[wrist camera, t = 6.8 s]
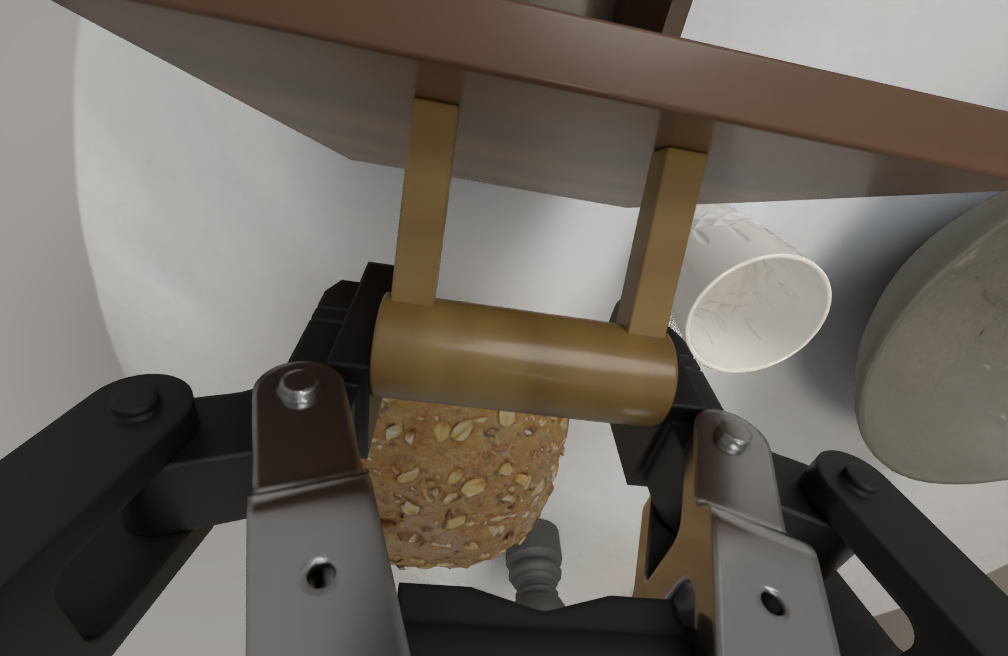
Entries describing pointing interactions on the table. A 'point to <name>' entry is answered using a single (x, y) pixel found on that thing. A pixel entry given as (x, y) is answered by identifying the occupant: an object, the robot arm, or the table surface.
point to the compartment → (628, 12)
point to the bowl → (942, 356)
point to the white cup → (745, 293)
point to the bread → (459, 480)
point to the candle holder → (536, 567)
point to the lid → (556, 160)
